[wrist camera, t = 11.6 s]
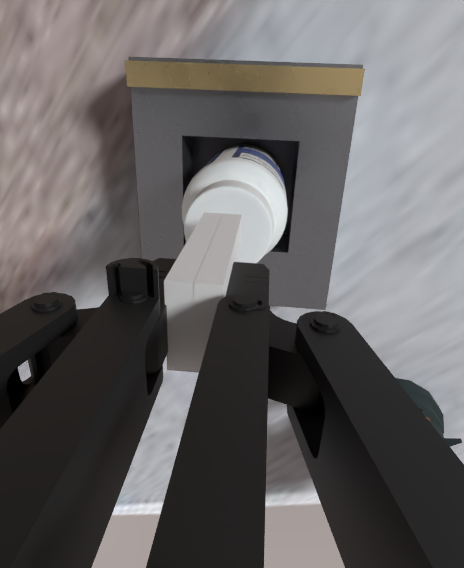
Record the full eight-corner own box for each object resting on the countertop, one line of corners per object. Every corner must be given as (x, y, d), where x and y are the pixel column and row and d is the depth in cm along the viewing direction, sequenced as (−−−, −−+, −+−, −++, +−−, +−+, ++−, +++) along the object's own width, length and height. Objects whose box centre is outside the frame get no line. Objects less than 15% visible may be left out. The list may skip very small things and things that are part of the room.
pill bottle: (217, 234, 28) (190, 298, 19) (192, 157, 26) (149, 189, 17) (293, 214, 27) (301, 272, 18) (274, 132, 25) (272, 153, 16)
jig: (147, 61, 24) (124, 55, 21) (350, 68, 23) (365, 64, 20) (157, 274, 30) (141, 300, 27) (319, 286, 29) (326, 314, 26)
